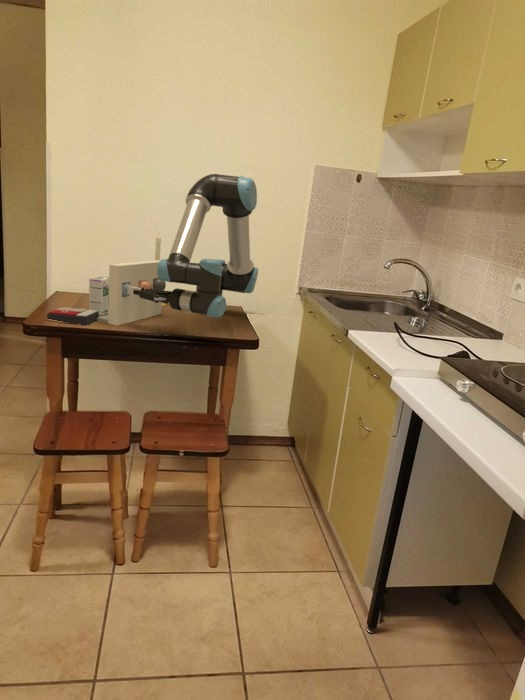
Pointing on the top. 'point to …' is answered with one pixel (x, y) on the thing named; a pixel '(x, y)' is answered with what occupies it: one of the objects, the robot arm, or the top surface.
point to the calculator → (74, 315)
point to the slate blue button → (125, 289)
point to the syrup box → (99, 294)
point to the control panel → (131, 305)
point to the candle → (158, 252)
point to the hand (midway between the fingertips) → (128, 289)
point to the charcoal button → (159, 284)
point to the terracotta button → (144, 285)
